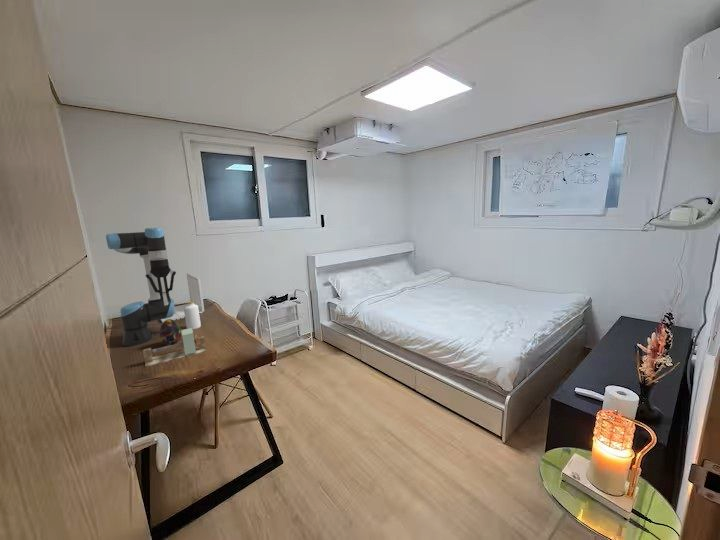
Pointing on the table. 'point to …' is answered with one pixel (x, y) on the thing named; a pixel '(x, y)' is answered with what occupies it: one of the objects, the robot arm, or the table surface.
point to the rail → (171, 356)
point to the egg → (170, 332)
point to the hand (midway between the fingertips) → (166, 304)
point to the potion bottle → (192, 315)
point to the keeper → (188, 341)
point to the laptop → (194, 296)
